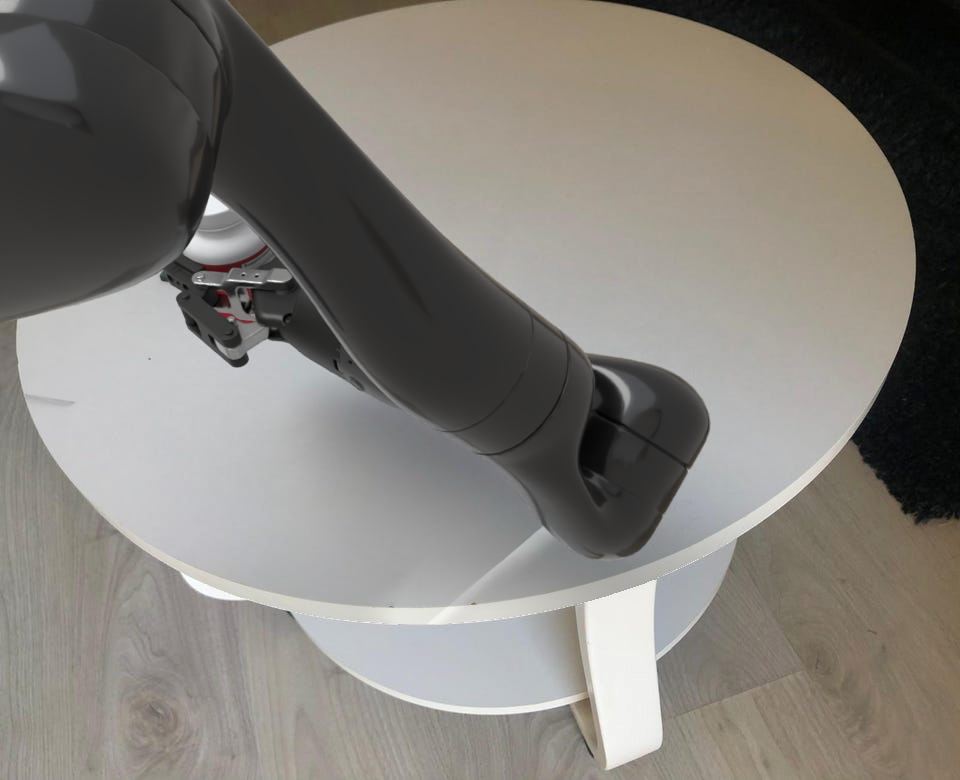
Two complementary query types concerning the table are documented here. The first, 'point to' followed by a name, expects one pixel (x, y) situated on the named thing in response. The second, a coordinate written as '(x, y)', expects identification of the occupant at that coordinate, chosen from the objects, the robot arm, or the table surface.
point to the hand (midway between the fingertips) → (207, 234)
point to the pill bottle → (226, 244)
